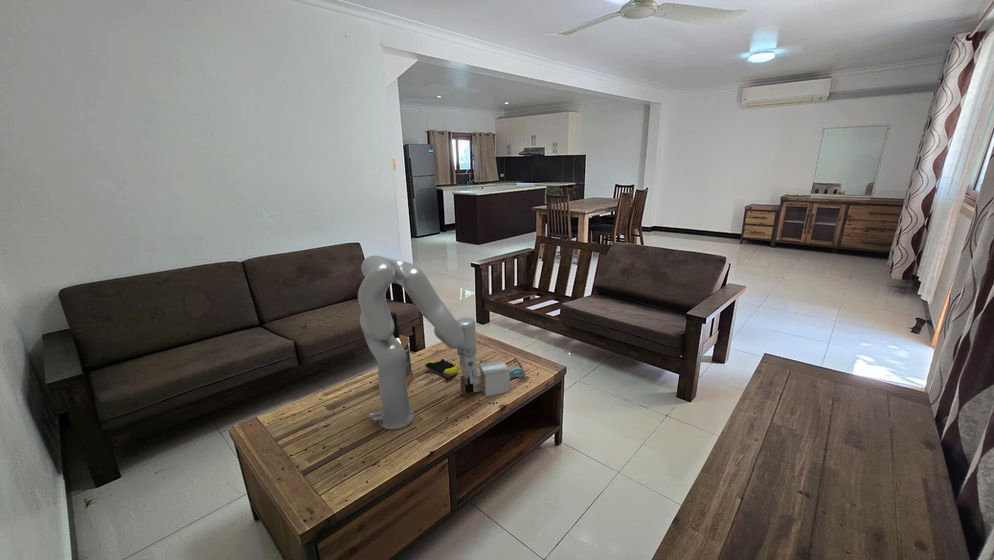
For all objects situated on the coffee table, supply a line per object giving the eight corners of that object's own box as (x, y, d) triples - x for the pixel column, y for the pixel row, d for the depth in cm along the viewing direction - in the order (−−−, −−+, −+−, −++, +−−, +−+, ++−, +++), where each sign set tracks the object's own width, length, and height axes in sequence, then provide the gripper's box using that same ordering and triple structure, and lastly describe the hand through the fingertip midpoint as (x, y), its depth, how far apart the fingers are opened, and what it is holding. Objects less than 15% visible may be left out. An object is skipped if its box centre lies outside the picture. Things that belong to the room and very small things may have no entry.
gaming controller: (447, 383, 169) (463, 373, 177) (446, 372, 168) (462, 362, 175) (423, 373, 178) (439, 364, 186) (422, 362, 177) (438, 353, 184)
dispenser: (485, 396, 159) (484, 374, 156) (479, 386, 167) (478, 364, 164) (509, 391, 162) (509, 369, 159) (503, 381, 170) (502, 360, 167)
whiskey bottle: (405, 391, 164) (398, 318, 155) (383, 389, 166) (374, 317, 157) (414, 377, 174) (408, 309, 165) (393, 376, 176) (385, 308, 166)
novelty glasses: (492, 382, 170) (492, 371, 169) (488, 365, 184) (488, 355, 183) (524, 379, 172) (524, 368, 171) (518, 362, 186) (518, 352, 185)
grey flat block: (462, 394, 159) (461, 378, 157) (460, 391, 161) (460, 376, 159) (503, 386, 164) (503, 371, 162) (502, 383, 166) (501, 368, 164)
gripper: (481, 356, 149) (483, 399, 155) (470, 339, 164) (472, 379, 169) (462, 360, 147) (464, 403, 152) (452, 342, 162) (455, 382, 167)
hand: (468, 390), depth 161 cm, fingers closed on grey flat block, 2 cm apart
